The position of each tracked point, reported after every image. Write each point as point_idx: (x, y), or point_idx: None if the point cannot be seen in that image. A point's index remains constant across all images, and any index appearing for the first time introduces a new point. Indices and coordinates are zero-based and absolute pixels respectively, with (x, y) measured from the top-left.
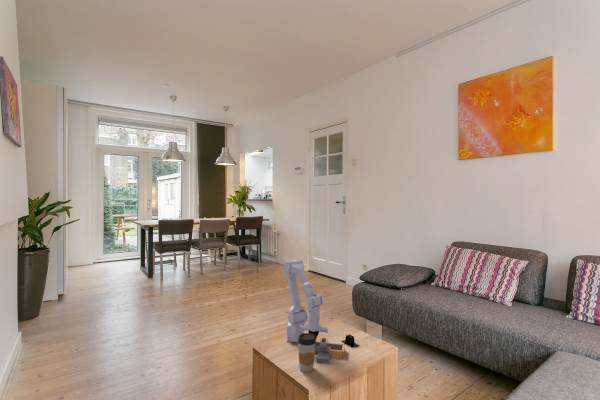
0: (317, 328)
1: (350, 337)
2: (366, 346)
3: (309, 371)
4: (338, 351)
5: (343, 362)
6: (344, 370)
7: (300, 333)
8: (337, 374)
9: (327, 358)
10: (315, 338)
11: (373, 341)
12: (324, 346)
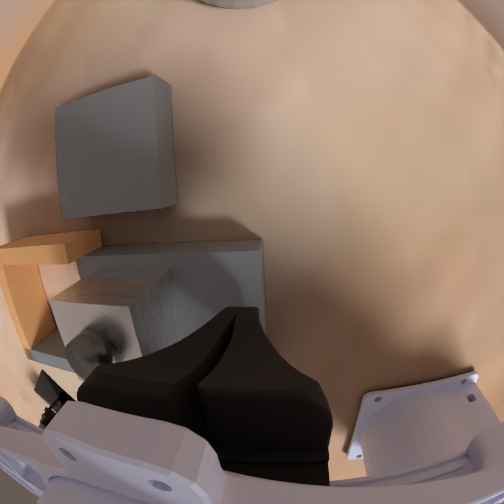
0: (46, 490)
1: (42, 425)
2: (14, 380)
3: None
4: (14, 247)
5: (15, 177)
6: (11, 87)
7: (403, 452)
8: (42, 27)
9: (68, 115)
10: (178, 349)
11: (23, 414)
12: (98, 282)
